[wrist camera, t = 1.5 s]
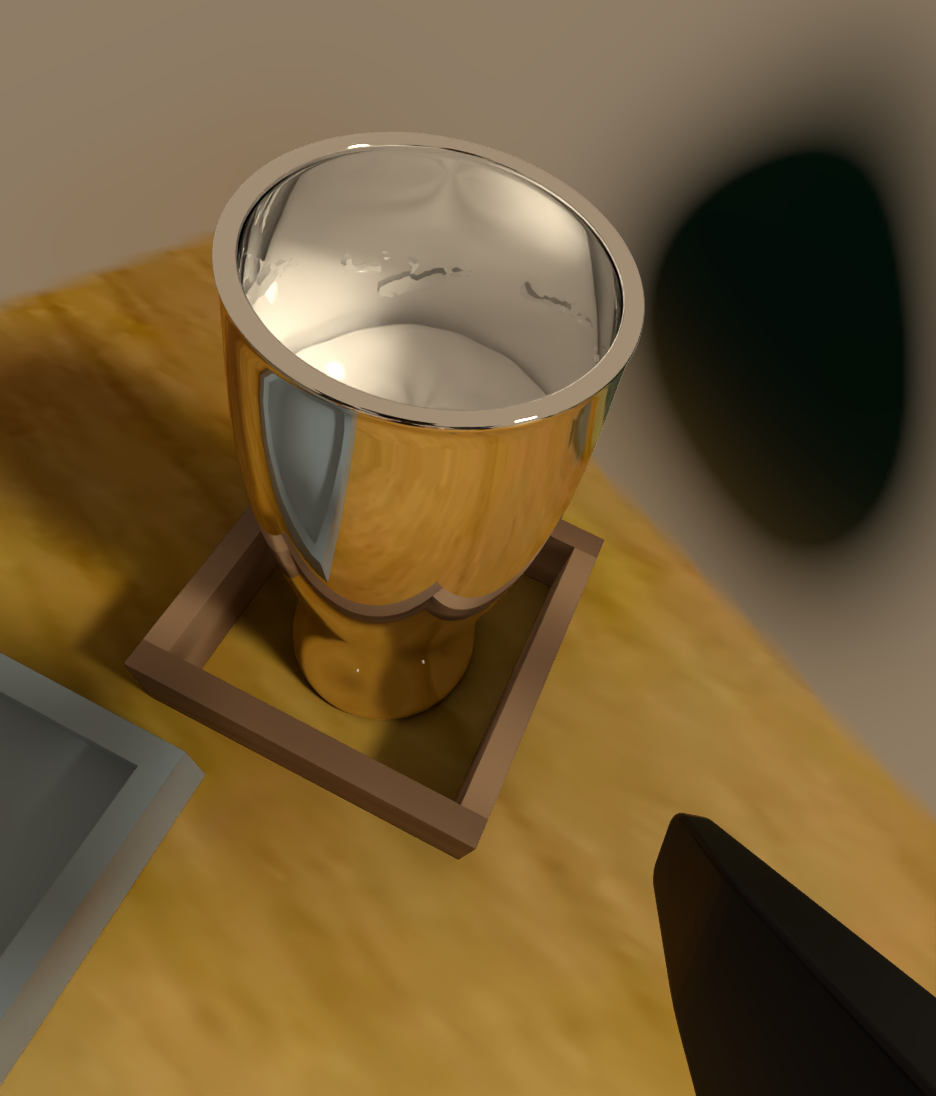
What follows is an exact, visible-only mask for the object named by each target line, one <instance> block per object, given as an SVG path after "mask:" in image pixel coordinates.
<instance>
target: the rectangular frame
mask: <svg viewBox="0 0 936 1096" xmlns="http://www.w3.org/2000/svg"><path fill="white" fill-rule="evenodd" d="M603 542H604V540H603V539H601V538H599V537H597V536H595V535H593V534H591V533H589V532H587V531H584V530H582V529H580V528H578V527H576V526H574V525H572V524H570V523H568V522H566V521H564V520H560V521H559V523H558V525H557V526H556V528H555V530H554V531H553V533H552V535H551V536H550V538H549V540H548V541H547V543H546V545H545V546H544V548H543V550H542V551H541V553H540V554H539V555H538V557H537V558H536V559H535V560H534V562H533V563H532V564H531V565H530V566H529V567H528V569H527V570H526V571H525V572H524V573H523V574H525V575H527V576H529V577H531V578H533V579H535V580H537V581H539V582H541V583H543V584H545V585H547V586H550V587H551V588H550V590H549V592H548V594H547V597H546V599H545V601H544V603H543V605H542V608H541V610H540V612H539V614H538V617H537V619H536V621H535V623H534V625H533V628H532V630H531V632H530V634H529V637H528V639H527V641H526V643H525V646H524V648H523V650H522V652H521V654H520V657H519V659H518V661H517V663H516V666H515V668H514V670H513V672H512V675H511V677H510V679H509V681H508V683H507V686H506V688H505V690H504V692H503V695H502V697H501V699H500V701H499V704H498V706H497V708H496V710H495V712H494V715H493V717H492V719H491V721H490V724H489V726H488V728H487V730H486V733H485V735H484V737H483V739H482V741H481V744H480V746H479V748H478V750H477V753H476V755H475V757H474V759H473V761H472V764H471V766H470V768H469V770H468V773H467V775H466V777H465V779H464V782H463V784H462V786H461V788H460V790H459V793H458V795H457V797H456V799H455V802H454V801H452V800H450V799H449V798H447V797H445V796H443V795H441V794H439V793H437V792H435V791H433V790H431V789H429V788H427V787H426V786H424V785H422V784H420V783H418V782H416V781H414V780H412V779H410V778H408V777H406V776H405V775H403V774H401V773H399V772H397V771H395V770H393V769H391V768H389V767H387V766H385V765H383V764H382V763H380V762H378V761H376V760H374V759H372V758H370V757H368V756H366V755H364V754H362V753H360V752H359V751H357V750H355V749H353V748H351V747H349V746H347V745H345V744H343V743H341V742H339V741H337V740H336V739H334V738H332V737H330V736H328V735H326V734H324V733H322V732H320V731H318V730H316V729H315V728H313V727H311V726H309V725H307V724H305V723H303V722H301V721H299V720H297V719H295V718H293V717H292V716H290V715H288V714H286V713H284V712H282V711H280V710H278V709H276V708H274V707H272V706H270V705H269V704H267V703H265V702H263V701H261V700H259V699H257V698H255V697H253V696H251V695H249V694H248V693H246V692H244V691H242V690H240V689H238V688H236V687H234V686H232V685H230V684H228V683H226V682H225V681H223V680H221V679H219V678H217V677H215V676H213V675H211V674H209V673H207V672H205V671H203V670H202V668H203V666H204V665H205V663H206V662H207V661H208V659H209V658H210V656H211V655H212V654H213V652H214V651H215V650H216V648H217V647H218V645H219V644H220V643H221V641H222V640H223V639H224V637H225V636H226V634H227V633H228V632H229V630H230V629H231V627H232V626H233V625H234V623H235V622H236V621H237V619H238V618H239V616H240V615H241V614H242V612H243V611H244V610H245V608H246V607H247V605H248V604H249V603H250V601H251V600H252V599H253V597H254V596H255V594H256V593H257V592H258V590H259V589H260V587H261V586H262V585H263V583H264V582H265V581H266V579H267V578H268V576H269V575H270V574H271V572H272V571H273V570H274V568H275V567H276V565H277V563H276V561H275V559H274V557H273V556H272V554H271V552H270V549H269V547H268V545H267V543H266V541H265V539H264V536H263V534H262V532H261V530H260V528H259V526H258V523H257V521H256V519H255V517H254V514H253V512H252V509H251V506H249V507H248V508H247V509H246V511H245V512H244V513H243V514H242V516H241V517H240V518H239V519H238V521H237V522H236V523H235V524H234V526H233V527H232V528H231V529H230V531H229V532H228V533H227V534H226V536H225V537H224V538H223V539H222V541H221V542H220V543H219V544H218V546H217V547H216V548H215V549H214V551H213V552H212V553H211V554H210V556H209V557H208V558H207V559H206V561H205V562H204V563H203V564H202V566H201V567H200V568H199V569H198V571H197V572H196V573H195V574H194V576H193V577H192V578H191V579H190V581H189V582H188V583H187V585H186V586H185V587H184V588H183V590H182V591H181V592H180V593H179V595H178V596H177V597H176V598H175V600H174V601H173V602H172V603H171V605H170V606H169V607H168V608H167V610H166V611H165V612H164V613H163V615H162V616H161V617H160V618H159V620H158V621H157V622H156V623H155V625H154V626H153V627H152V628H151V630H150V631H149V632H148V633H147V635H146V636H145V637H144V638H143V640H142V641H141V642H140V643H139V645H138V646H137V647H136V648H135V650H134V651H133V652H132V653H131V655H130V656H129V657H128V658H127V660H126V661H125V662H124V664H125V666H126V667H127V668H128V669H129V671H130V672H131V673H132V674H133V676H134V677H135V678H136V679H137V680H138V682H139V683H140V684H141V685H142V687H143V688H144V689H145V690H146V692H147V693H148V694H149V695H150V696H151V697H152V698H154V699H156V700H158V701H160V702H162V703H164V704H166V705H168V706H169V707H171V708H173V709H175V710H177V711H179V712H181V713H183V714H185V715H186V716H188V717H190V718H192V719H194V720H196V721H198V722H200V723H202V724H203V725H205V726H207V727H209V728H211V729H213V730H215V731H217V732H219V733H220V734H222V735H224V736H226V737H228V738H230V739H232V740H234V741H235V742H237V743H239V744H241V745H243V746H245V747H247V748H249V749H251V750H252V751H254V752H256V753H258V754H260V755H262V756H264V757H266V758H268V759H269V760H271V761H273V762H275V763H277V764H279V765H281V766H283V767H285V768H286V769H288V770H290V771H292V772H294V773H296V774H298V775H300V776H302V777H303V778H305V779H307V780H309V781H311V782H313V783H315V784H317V785H319V786H320V787H322V788H324V789H326V790H328V791H330V792H332V793H334V794H336V795H337V796H339V797H341V798H343V799H345V800H347V801H349V802H351V803H353V804H354V805H356V806H358V807H360V808H362V809H364V810H366V811H368V812H370V813H371V814H373V815H375V816H377V817H379V818H381V819H383V820H385V821H387V822H388V823H390V824H392V825H394V826H396V827H398V828H400V829H402V830H403V831H405V832H407V833H409V834H411V835H413V836H415V837H417V838H419V839H420V840H422V841H424V842H426V843H428V844H430V845H432V846H434V847H436V848H437V849H439V850H441V851H443V852H445V853H447V854H449V855H451V856H453V857H454V858H456V859H458V860H459V859H460V858H462V857H463V856H465V855H467V854H468V853H470V852H472V851H473V850H475V849H476V847H477V845H478V842H479V840H480V837H481V835H482V833H483V830H484V828H485V825H486V823H487V821H488V818H489V816H490V813H491V811H492V809H493V806H494V804H495V801H496V799H497V797H498V794H499V792H500V789H501V787H502V785H503V782H504V780H505V777H506V775H507V772H508V770H509V768H510V765H511V763H512V760H513V758H514V756H515V753H516V751H517V748H518V746H519V744H520V741H521V739H522V736H523V734H524V732H525V729H526V727H527V724H528V722H529V720H530V717H531V715H532V712H533V710H534V708H535V705H536V703H537V700H538V698H539V696H540V693H541V691H542V688H543V686H544V684H545V681H546V679H547V676H548V674H549V672H550V669H551V667H552V664H553V662H554V660H555V657H556V655H557V652H558V650H559V648H560V645H561V643H562V640H563V638H564V636H565V633H566V631H567V628H568V626H569V624H570V621H571V619H572V616H573V614H574V612H575V609H576V607H577V604H578V602H579V600H580V597H581V595H582V592H583V590H584V587H585V585H586V583H587V580H588V578H589V575H590V573H591V571H592V568H593V566H594V563H595V561H596V559H597V556H598V554H599V551H600V549H601V547H602V544H603Z"/></svg>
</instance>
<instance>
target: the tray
mask: <svg viewBox="0 0 936 1096" xmlns="http://www.w3.org/2000/svg"><path fill="white" fill-rule="evenodd" d="M204 776H205V774H204V773H203V771H202V770H201V769H200V768H199V767H198V766H197V765H196V763H195V762H194V761H193V760H192V759H191V758H190V757H189V755H188V754H187V753H186V752H185V751H183V750H181V749H179V748H178V747H176V746H174V745H172V744H170V743H168V742H166V741H164V740H163V739H161V738H159V737H157V736H155V735H153V734H151V733H150V732H148V731H146V730H144V729H142V728H140V727H138V726H136V725H135V724H133V723H131V722H129V721H127V720H125V719H123V718H121V717H120V716H118V715H116V714H114V713H112V712H110V711H108V710H106V709H105V708H103V707H101V706H99V705H97V704H95V703H93V702H92V701H90V700H88V699H86V698H84V697H82V696H80V695H78V694H77V693H75V692H73V691H71V690H69V689H67V688H65V687H63V686H62V685H60V684H58V683H56V682H54V681H52V680H50V679H49V678H47V677H45V676H43V675H41V674H39V673H37V672H35V671H34V670H32V669H30V668H28V667H26V666H24V665H22V664H20V663H19V662H17V661H15V660H13V659H11V658H9V657H7V656H6V655H4V654H2V653H0V1085H1V1084H2V1082H3V1081H4V1079H5V1078H6V1076H7V1075H8V1073H9V1072H10V1070H11V1069H12V1067H13V1066H14V1064H15V1063H16V1061H17V1059H18V1058H19V1056H20V1055H21V1053H22V1052H23V1050H24V1049H25V1047H26V1046H27V1044H28V1043H29V1041H30V1040H31V1038H32V1037H33V1035H34V1034H35V1032H36V1031H37V1029H38V1028H39V1026H40V1025H41V1023H42V1022H43V1020H44V1019H45V1017H46V1016H47V1014H48V1013H49V1011H50V1009H51V1008H52V1006H53V1005H54V1003H55V1002H56V1000H57V999H58V997H59V996H60V994H61V993H62V991H63V990H64V988H65V987H66V985H67V984H68V982H69V981H70V979H71V978H72V976H73V975H74V973H75V972H76V970H77V969H78V967H79V966H80V964H81V962H82V961H83V959H84V958H85V956H86V955H87V953H88V952H89V950H90V949H91V947H92V946H93V944H94V943H95V941H96V940H97V938H98V937H99V935H100V934H101V932H102V931H103V929H104V928H105V926H106V925H107V923H108V922H109V920H110V919H111V917H112V915H113V914H114V912H115V911H116V909H117V908H118V906H119V905H120V903H121V902H122V900H123V899H124V897H125V896H126V894H127V893H128V891H129V890H130V888H131V887H132V885H133V884H134V882H135V881H136V879H137V878H138V876H139V875H140V873H141V872H142V870H143V868H144V867H145V865H146V864H147V862H148V861H149V859H150V858H151V856H152V855H153V853H154V852H155V850H156V849H157V847H158V846H159V844H160V843H161V841H162V840H163V838H164V837H165V835H166V834H167V832H168V831H169V829H170V828H171V826H172V825H173V823H174V821H175V820H176V818H177V817H178V815H179V814H180V812H181V811H182V809H183V808H184V806H185V805H186V803H187V802H188V800H189V799H190V797H191V796H192V794H193V793H194V791H195V790H196V788H197V787H198V785H199V784H200V782H201V781H202V779H203V778H204Z"/></svg>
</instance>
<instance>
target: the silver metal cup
mask: <svg viewBox="0 0 936 1096" xmlns="http://www.w3.org/2000/svg"><path fill="white" fill-rule="evenodd" d="M212 265H213V274H214V279H215V283H216V287H217V290H218V294H219V304H220V314H221V326H222V341H223V355H224V366H225V376H226V386H227V396H228V405H229V411H230V417H231V423H232V429H233V435H234V441H235V447H236V453H237V458H238V463H239V466H240V470H241V473H242V477H243V481H244V484H245V488H246V491H247V495H248V499H249V502H250V506H251V509H252V512H253V514H254V517H255V519H256V521H257V523H258V526H259V528H260V530H261V532H262V534H263V536H264V539H265V541H266V543H267V545H268V547H269V549H270V552H271V554H272V556H273V557H274V559H275V561H276V563H277V564H278V566H279V568H280V569H281V571H282V573H283V574H284V576H285V578H286V580H287V581H288V583H289V584H290V586H291V588H292V589H293V591H294V592H295V594H296V596H297V597H298V599H299V601H298V604H297V607H296V611H295V616H294V621H293V646H294V651H295V655H296V659H297V662H298V664H299V667H300V669H301V671H302V673H303V675H304V676H305V678H306V680H307V681H308V682H309V684H310V685H311V686H312V687H313V689H314V690H315V691H316V692H317V693H318V694H319V695H320V696H321V697H323V698H324V699H325V700H326V701H328V702H329V703H330V704H332V705H334V706H335V707H337V708H339V709H341V710H343V711H345V712H347V713H350V714H352V715H356V716H359V717H363V718H369V719H379V720H389V719H398V718H404V717H408V716H411V715H414V714H417V713H420V712H422V711H424V710H426V709H428V708H430V707H432V706H433V705H435V704H436V703H438V702H439V701H440V700H442V699H443V698H444V697H445V696H446V695H447V694H448V693H449V692H450V691H451V690H452V689H453V688H454V687H455V686H456V685H457V683H458V682H459V681H460V679H461V678H462V676H463V675H464V673H465V671H466V669H467V666H468V664H469V661H470V658H471V655H472V651H473V646H474V637H475V622H476V621H477V620H478V619H479V618H480V617H482V616H483V615H484V614H485V613H486V612H487V611H488V610H489V609H490V608H491V607H492V606H493V605H494V604H495V603H496V602H497V601H498V600H499V599H501V598H502V597H503V596H504V595H505V594H506V593H507V592H508V591H509V590H510V589H511V588H512V586H513V585H514V584H515V583H516V582H517V581H518V579H519V578H520V577H521V576H522V575H523V573H524V572H525V571H526V570H527V569H528V567H529V566H530V565H531V564H532V563H533V562H534V560H535V559H536V558H537V557H538V555H539V554H540V553H541V551H542V550H543V548H544V546H545V545H546V543H547V541H548V540H549V538H550V536H551V535H552V533H553V531H554V530H555V528H556V526H557V525H558V523H559V521H560V520H561V518H562V517H563V515H564V513H565V511H566V510H567V508H568V506H569V504H570V502H571V500H572V497H573V495H574V493H575V491H576V489H577V487H578V485H579V483H580V480H581V478H582V476H583V474H584V472H585V470H586V468H587V465H588V463H589V461H590V458H591V456H592V453H593V451H594V448H595V446H596V443H597V441H598V438H599V436H600V433H601V431H602V428H603V426H604V423H605V420H606V417H607V415H608V412H609V409H610V406H611V403H612V401H613V398H614V395H615V393H616V390H617V387H618V385H619V382H620V380H621V377H622V375H623V372H624V369H625V367H626V365H627V363H628V362H629V360H630V358H631V357H632V355H633V353H634V351H635V349H636V347H637V344H638V342H639V339H640V335H641V331H642V327H643V321H644V311H645V305H644V293H643V287H642V282H641V279H640V275H639V272H638V269H637V266H636V264H635V261H634V259H633V257H632V255H631V253H630V251H629V250H628V248H627V246H626V244H625V242H624V241H623V239H622V238H621V237H620V235H619V234H618V232H617V231H616V230H615V228H614V227H613V226H612V225H611V223H610V222H609V221H608V220H607V219H606V218H605V217H604V216H603V215H602V214H601V213H600V211H598V210H597V209H596V208H595V207H594V206H593V205H592V204H591V203H590V202H589V201H588V200H586V199H585V198H584V197H583V196H581V195H580V194H579V193H578V192H576V191H575V190H574V189H572V188H571V187H569V186H568V185H567V184H565V183H564V182H562V181H561V180H559V179H557V178H555V177H554V176H553V175H551V174H549V173H547V172H545V171H544V170H542V169H540V168H538V167H536V166H534V165H532V164H530V163H528V162H526V161H524V160H521V159H519V158H516V157H514V156H512V155H509V154H507V153H504V152H501V151H498V150H496V149H493V148H489V147H486V146H483V145H480V144H476V143H472V142H468V141H464V140H460V139H455V138H450V137H444V136H438V135H431V134H422V133H409V132H372V133H361V134H352V135H346V136H340V137H335V138H330V139H326V140H322V141H318V142H315V143H312V144H309V145H306V146H303V147H300V148H298V149H296V150H293V151H290V152H288V153H286V154H284V155H282V156H280V157H278V158H276V159H275V160H273V161H271V162H270V163H268V164H266V165H265V166H263V167H262V168H260V169H259V170H258V171H257V172H255V173H254V174H253V175H252V176H251V177H249V178H248V179H247V180H246V181H245V182H244V183H243V184H242V185H241V186H240V188H239V189H238V190H237V191H236V192H235V193H234V195H233V196H232V197H231V199H230V200H229V202H228V203H227V205H226V207H225V208H224V210H223V213H222V214H221V217H220V219H219V221H218V224H217V227H216V231H215V235H214V241H213V250H212Z"/></svg>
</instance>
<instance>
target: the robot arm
mask: <svg viewBox="0 0 936 1096" xmlns="http://www.w3.org/2000/svg"><path fill="white" fill-rule="evenodd" d="M653 885H654V892H655V898H656V904H657V911H658V917H659V923H660V930H661V936H662V942H663V948H664V955H665V961H666V967H667V974H668V980H669V986H670V992H671V997H672V1002H673V1008H674V1012H675V1016H676V1020H677V1024H678V1029H679V1033H680V1036H681V1040H682V1044H683V1048H684V1052H685V1055H686V1059H687V1063H688V1067H689V1071H690V1074H691V1078H692V1082H693V1086H694V1090H695V1093H696V1096H936V997H934V996H933V995H932V994H931V993H929V992H928V991H927V990H926V989H924V988H923V987H922V986H921V985H919V984H918V983H917V982H915V981H914V980H913V979H912V978H910V977H909V976H908V975H907V974H905V973H904V972H903V971H902V970H900V969H899V968H898V967H896V966H895V965H894V964H893V963H891V962H890V961H889V960H888V959H886V958H885V957H884V956H883V955H881V954H880V953H879V952H877V951H876V950H875V949H874V948H872V947H871V946H870V945H869V944H867V943H866V942H865V941H864V940H862V939H861V938H860V937H858V936H857V935H856V934H855V933H853V932H852V931H851V930H850V929H848V928H847V927H846V926H845V925H843V924H842V923H841V922H839V921H838V920H837V919H836V918H834V917H833V916H832V915H831V914H829V913H828V912H827V911H826V910H824V909H823V908H822V907H820V906H819V905H818V904H817V903H815V902H814V901H813V900H812V899H810V898H809V897H808V896H807V895H805V894H804V893H803V892H801V891H800V890H799V889H798V888H796V887H795V886H794V885H793V884H791V883H790V882H789V881H788V880H786V879H785V878H784V877H782V876H781V875H780V874H779V873H777V872H776V871H775V870H774V869H772V868H771V867H770V866H769V865H767V864H766V863H765V862H763V861H762V860H761V859H760V858H758V857H757V856H756V855H755V854H753V853H752V852H751V851H750V850H748V849H747V848H746V847H744V846H743V845H742V844H741V843H739V842H738V841H737V840H736V839H734V838H733V837H732V836H731V835H729V834H728V833H727V832H725V831H724V830H723V829H722V828H720V827H719V826H718V825H717V824H715V823H714V822H713V821H712V820H710V819H708V818H705V817H701V816H696V815H691V814H686V813H678V814H676V815H674V817H673V818H672V820H671V821H670V824H669V826H668V829H667V832H666V835H665V838H664V841H663V844H662V846H661V849H660V852H659V855H658V858H657V861H656V864H655V867H654V874H653Z"/></svg>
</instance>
